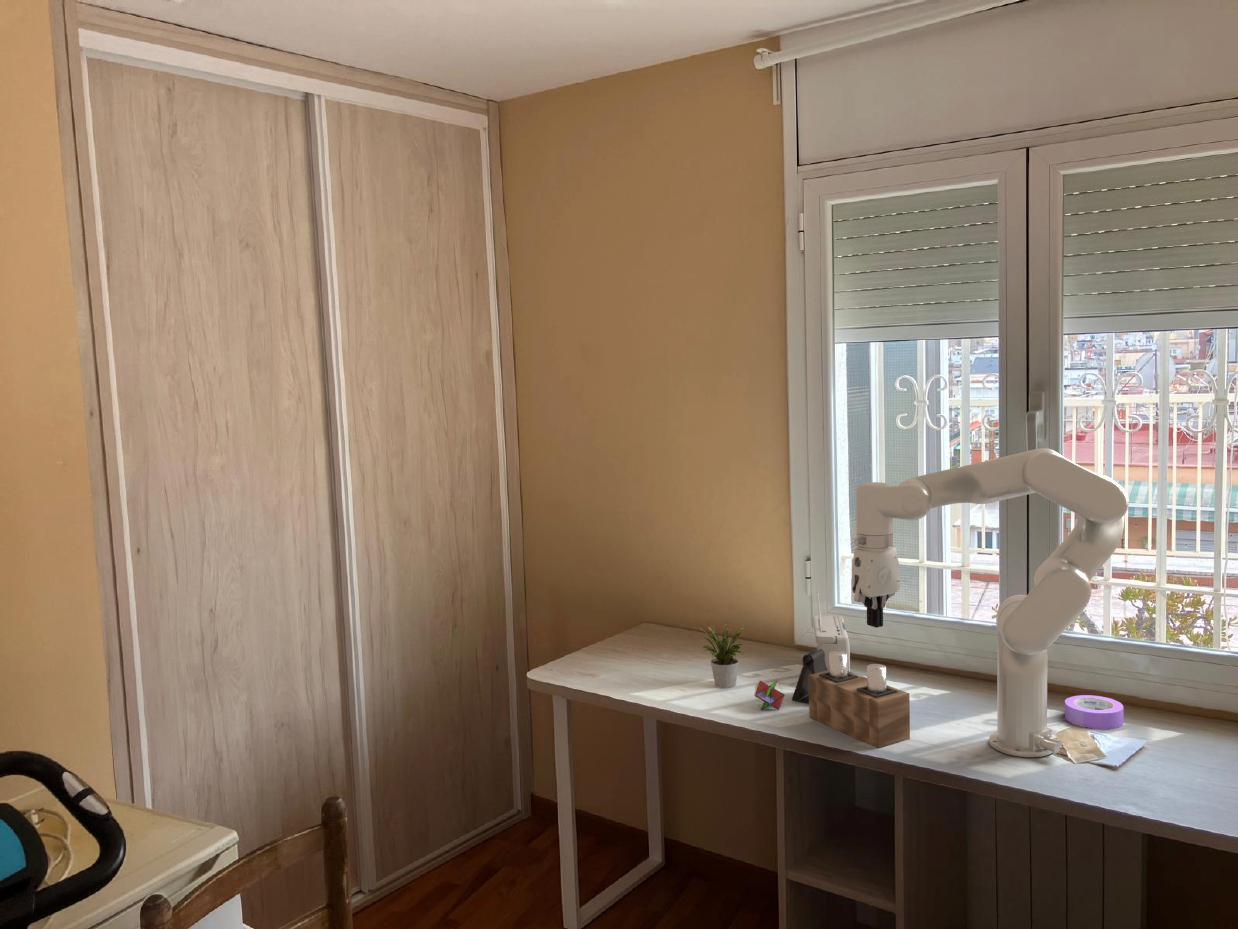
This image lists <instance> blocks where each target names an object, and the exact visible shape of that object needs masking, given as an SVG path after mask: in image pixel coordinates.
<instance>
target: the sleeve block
mask: <svg viewBox="0 0 1238 929" xmlns="http://www.w3.org/2000/svg"><path fill="white" fill-rule="evenodd" d="M808 679H809V704H808V716H809V718H810V719H811V720H815V721H817V722H818V723H822V724H823V725H825V726H828V727H830V728H833V729H834V730H837V731H838V732H841V733H843V734H846V735H848V736H850V737H853V738H855V739H857V740H859V741H861V742H863V743H866V744H868V745H871V746H873V747H875V748H877V749H881V748H884V747H887V746H891V745H894V744H898V743H900V742H905V741H907V740H910V739H911V731H910V730H911V724H910V723H911V718H910V717H911V716H910V714H911V712H910V707H911V706H910V703H911V702H910V701H911V700H910V693H909V692H906V691H905V690H901V689H899V688H895V687H893V686H890V685H889V684H888V685H887V684H886V690H887V692H884V693H881V694H877V695H876V694H874V693H871V692H869V691H867V676H866V677H865V676H863V675H859V674H857V673H854V672H851V671H850V672H849V671H848V677H847V678H843V679H839V680H837V679H834V678H832V677H829V670H827V671H823V672H818V673H814V674H810V675H808Z"/></svg>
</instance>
